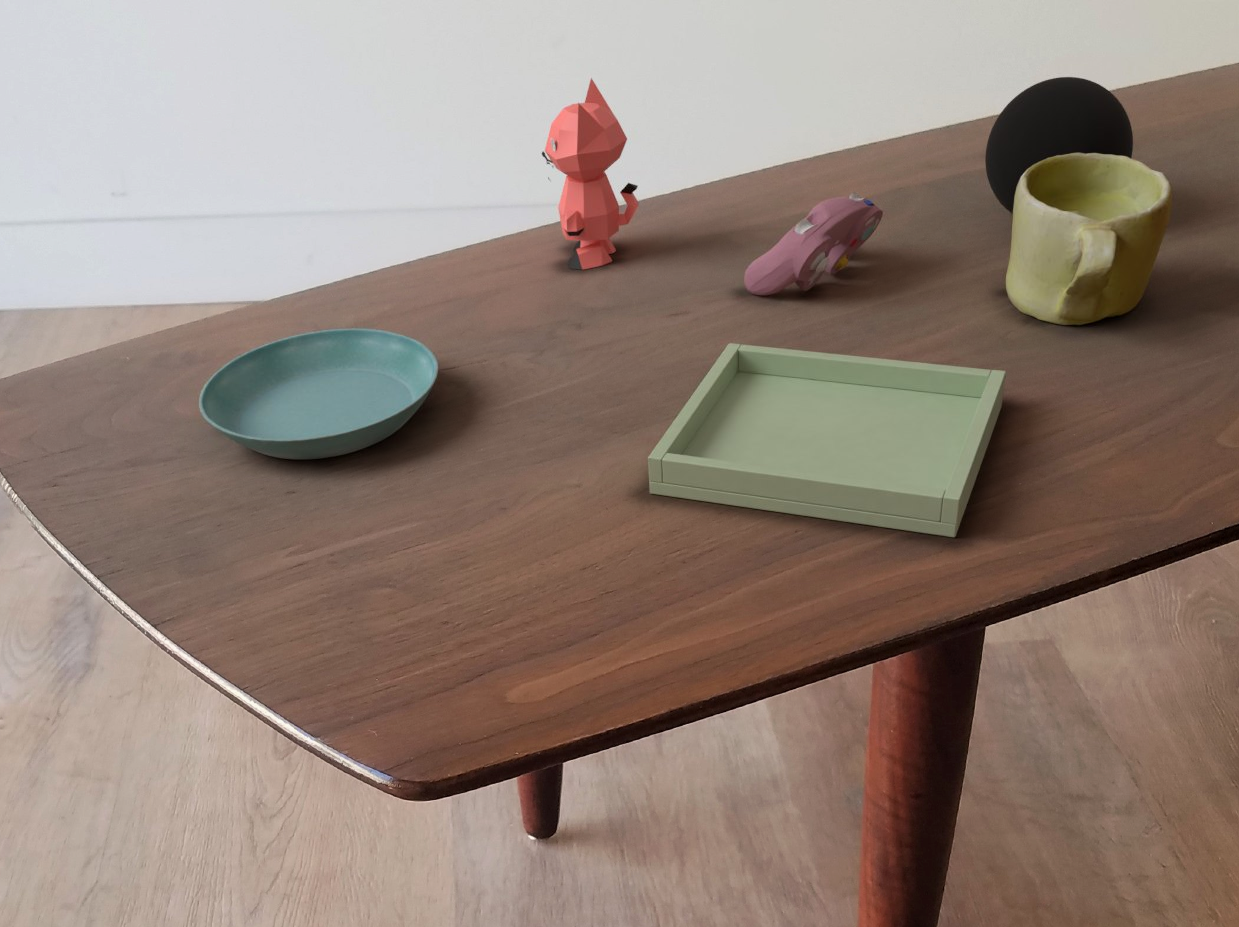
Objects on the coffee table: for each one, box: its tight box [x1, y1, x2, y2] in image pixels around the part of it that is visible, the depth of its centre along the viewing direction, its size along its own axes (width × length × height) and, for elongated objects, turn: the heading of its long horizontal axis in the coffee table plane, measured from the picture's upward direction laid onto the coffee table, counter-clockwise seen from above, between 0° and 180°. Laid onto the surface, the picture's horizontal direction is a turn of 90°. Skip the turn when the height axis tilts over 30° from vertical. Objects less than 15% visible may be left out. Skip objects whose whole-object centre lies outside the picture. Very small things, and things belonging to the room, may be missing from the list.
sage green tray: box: [647, 342, 1007, 538], centre depth 77 cm, size 17×15×2 cm
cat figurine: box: [541, 77, 640, 271], centre depth 100 cm, size 7×7×12 cm
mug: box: [1005, 153, 1173, 326], centre depth 88 cm, size 12×10×10 cm
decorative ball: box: [984, 76, 1134, 215], centre depth 99 cm, size 10×10×10 cm
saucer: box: [198, 327, 439, 460], centre depth 85 cm, size 15×15×3 cm
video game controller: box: [743, 191, 884, 296], centre depth 95 cm, size 10×5×7 cm, turn 137°
